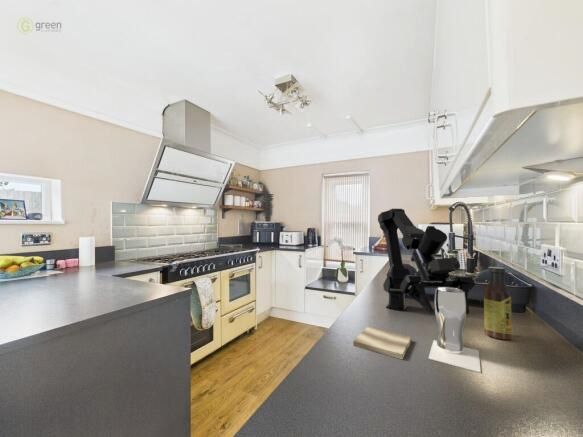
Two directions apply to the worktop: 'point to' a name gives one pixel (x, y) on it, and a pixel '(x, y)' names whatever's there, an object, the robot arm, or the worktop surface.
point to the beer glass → (450, 318)
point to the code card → (457, 358)
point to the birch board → (383, 342)
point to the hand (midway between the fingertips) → (449, 313)
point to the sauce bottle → (497, 305)
